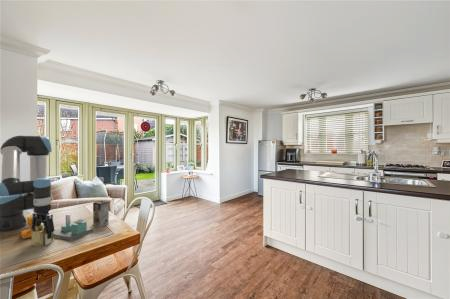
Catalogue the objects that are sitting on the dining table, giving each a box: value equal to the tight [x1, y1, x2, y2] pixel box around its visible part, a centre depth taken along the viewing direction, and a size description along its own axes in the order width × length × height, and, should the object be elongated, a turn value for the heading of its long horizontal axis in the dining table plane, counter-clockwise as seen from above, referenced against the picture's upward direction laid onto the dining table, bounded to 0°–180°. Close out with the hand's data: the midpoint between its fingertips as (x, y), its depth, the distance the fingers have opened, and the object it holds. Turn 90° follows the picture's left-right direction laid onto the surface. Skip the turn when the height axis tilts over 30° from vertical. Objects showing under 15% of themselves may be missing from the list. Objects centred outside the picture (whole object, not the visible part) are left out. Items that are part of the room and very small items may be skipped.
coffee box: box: [92, 200, 110, 227], centre depth 144 cm, size 9×6×16 cm
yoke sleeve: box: [31, 224, 55, 248], centre depth 116 cm, size 7×7×10 cm
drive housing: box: [54, 213, 94, 242], centre depth 128 cm, size 20×14×12 cm
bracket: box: [21, 215, 33, 239], centre depth 125 cm, size 11×7×12 cm, turn 51°
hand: (42, 242), depth 116 cm, fingers open, 9 cm apart
